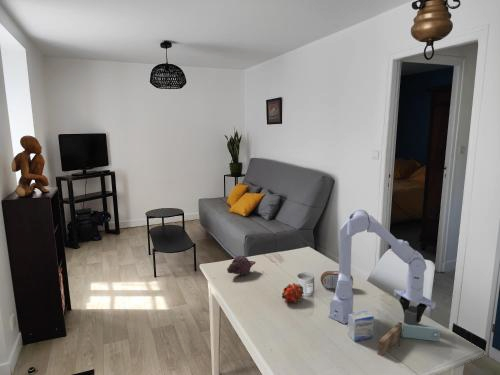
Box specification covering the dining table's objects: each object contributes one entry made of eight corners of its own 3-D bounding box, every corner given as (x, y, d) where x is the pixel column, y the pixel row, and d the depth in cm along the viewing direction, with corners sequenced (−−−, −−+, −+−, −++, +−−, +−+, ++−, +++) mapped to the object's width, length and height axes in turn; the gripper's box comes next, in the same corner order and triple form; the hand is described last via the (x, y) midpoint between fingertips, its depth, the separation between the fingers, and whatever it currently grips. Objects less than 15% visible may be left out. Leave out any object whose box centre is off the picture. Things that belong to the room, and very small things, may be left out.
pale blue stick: (403, 338, 124) (404, 327, 123) (402, 335, 126) (403, 324, 125) (440, 343, 121) (441, 331, 120) (438, 339, 123) (439, 328, 122)
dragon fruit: (305, 300, 156) (284, 312, 150) (293, 285, 160) (273, 295, 154) (311, 291, 150) (290, 303, 144) (299, 275, 154) (278, 286, 148)
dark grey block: (414, 327, 128) (415, 314, 128) (403, 322, 131) (404, 310, 130) (420, 320, 132) (421, 308, 132) (410, 316, 135) (411, 305, 134)
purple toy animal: (232, 282, 171) (232, 263, 169) (221, 276, 179) (220, 258, 177) (259, 272, 182) (259, 254, 180) (248, 267, 190) (247, 249, 188)
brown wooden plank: (382, 356, 115) (382, 342, 114) (377, 354, 117) (378, 340, 116) (402, 336, 126) (403, 323, 125) (397, 334, 127) (398, 321, 126)
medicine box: (353, 342, 123) (354, 320, 122) (347, 334, 128) (348, 313, 126) (373, 338, 125) (374, 316, 124) (365, 331, 130) (366, 310, 128)
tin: (352, 287, 164) (352, 270, 163) (353, 290, 161) (354, 273, 159) (320, 286, 166) (320, 270, 164) (320, 289, 162) (321, 272, 161)
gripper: (439, 288, 127) (436, 321, 129) (400, 276, 137) (398, 307, 139) (432, 294, 122) (429, 329, 124) (392, 281, 132) (390, 314, 135)
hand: (412, 318), depth 132 cm, fingers closed on dark grey block, 4 cm apart
